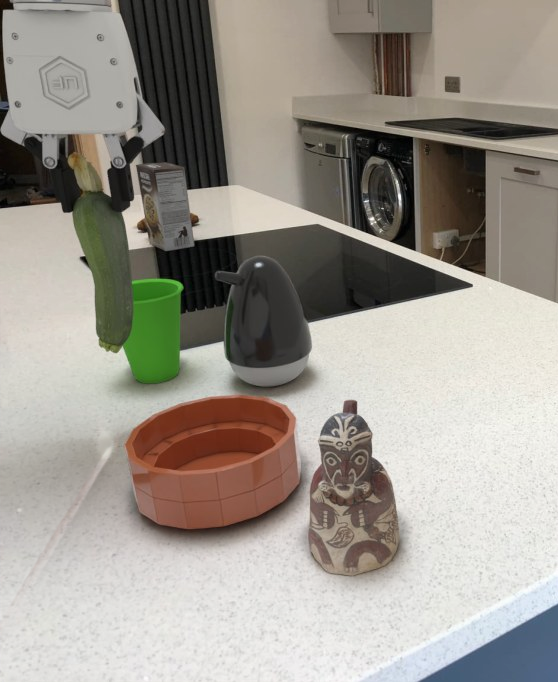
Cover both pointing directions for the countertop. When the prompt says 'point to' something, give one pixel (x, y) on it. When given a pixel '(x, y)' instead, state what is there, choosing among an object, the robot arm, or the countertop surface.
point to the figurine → (351, 499)
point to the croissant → (142, 226)
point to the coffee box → (165, 205)
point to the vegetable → (104, 255)
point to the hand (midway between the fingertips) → (97, 207)
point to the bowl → (214, 461)
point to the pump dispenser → (264, 324)
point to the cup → (155, 330)
